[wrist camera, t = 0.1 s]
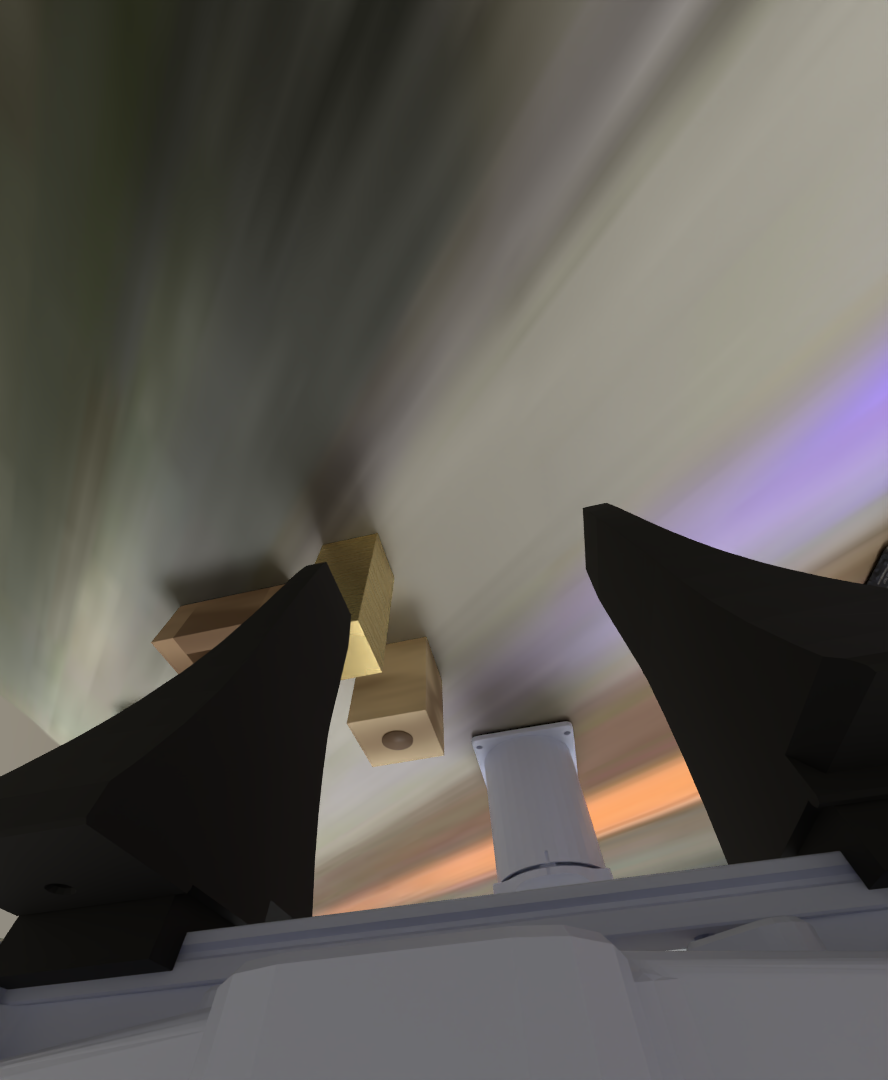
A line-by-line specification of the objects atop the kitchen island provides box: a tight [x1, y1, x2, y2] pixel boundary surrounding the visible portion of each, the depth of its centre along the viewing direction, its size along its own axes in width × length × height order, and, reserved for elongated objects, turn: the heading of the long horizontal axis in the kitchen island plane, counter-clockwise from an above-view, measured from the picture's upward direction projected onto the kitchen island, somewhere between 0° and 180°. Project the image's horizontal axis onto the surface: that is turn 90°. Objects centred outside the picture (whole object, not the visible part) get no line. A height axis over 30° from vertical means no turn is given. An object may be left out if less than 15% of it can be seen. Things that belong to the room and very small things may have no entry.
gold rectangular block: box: [315, 533, 394, 680], centre depth 20 cm, size 3×3×7 cm
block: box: [347, 637, 444, 767], centre depth 25 cm, size 4×4×6 cm
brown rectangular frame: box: [151, 584, 285, 674], centre depth 25 cm, size 7×7×3 cm
